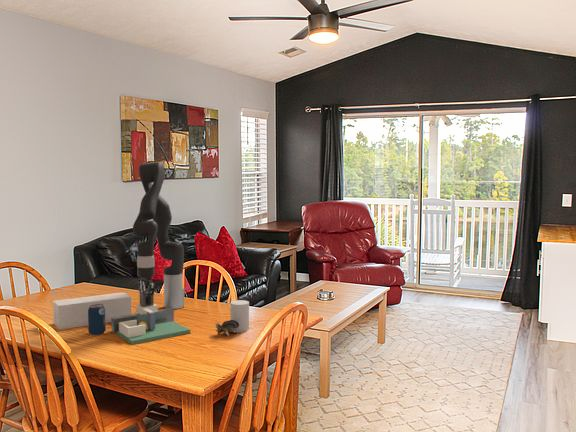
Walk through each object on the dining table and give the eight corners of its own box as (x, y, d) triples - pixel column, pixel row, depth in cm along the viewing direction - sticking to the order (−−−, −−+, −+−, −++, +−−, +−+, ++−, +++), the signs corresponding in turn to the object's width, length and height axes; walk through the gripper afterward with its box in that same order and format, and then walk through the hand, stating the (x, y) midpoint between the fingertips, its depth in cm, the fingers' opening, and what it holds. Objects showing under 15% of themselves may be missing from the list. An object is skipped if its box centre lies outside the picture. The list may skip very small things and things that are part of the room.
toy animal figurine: (223, 336, 228) (242, 329, 233) (216, 321, 230) (235, 314, 235) (218, 342, 234) (236, 334, 239) (211, 326, 236) (229, 319, 241)
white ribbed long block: (59, 330, 240) (58, 305, 239) (53, 324, 249) (53, 300, 248) (131, 319, 258) (131, 296, 257) (124, 314, 267) (123, 292, 266)
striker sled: (152, 318, 250) (152, 289, 249) (168, 326, 238) (167, 296, 237) (136, 321, 246) (135, 292, 244) (150, 329, 233) (150, 299, 232)
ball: (140, 318, 234) (134, 326, 233) (144, 321, 231) (138, 328, 230) (147, 324, 236) (141, 331, 235) (151, 326, 233) (144, 334, 232)
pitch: (173, 324, 249) (173, 321, 249) (190, 332, 236) (190, 329, 236) (117, 334, 233) (117, 331, 233) (132, 344, 220) (132, 341, 220)
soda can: (108, 333, 235) (108, 305, 233) (93, 337, 230) (92, 308, 229) (100, 330, 239) (100, 303, 238) (85, 333, 234) (84, 305, 233)
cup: (251, 327, 245) (251, 301, 244) (244, 332, 237) (244, 305, 236) (235, 325, 247) (235, 299, 246) (227, 330, 240) (227, 303, 239)
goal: (136, 328, 237) (135, 319, 236) (145, 334, 229) (145, 324, 229) (119, 331, 232) (118, 322, 232) (128, 337, 224) (128, 328, 224)
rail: (170, 320, 255) (170, 307, 255) (173, 321, 253) (173, 309, 252) (111, 331, 238) (111, 317, 237) (114, 332, 235) (113, 319, 235)
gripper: (160, 267, 241) (161, 305, 242) (147, 262, 252) (147, 299, 253) (144, 268, 236) (145, 308, 238) (131, 264, 247) (132, 301, 249)
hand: (146, 303), depth 245 cm, fingers closed on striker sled, 3 cm apart
